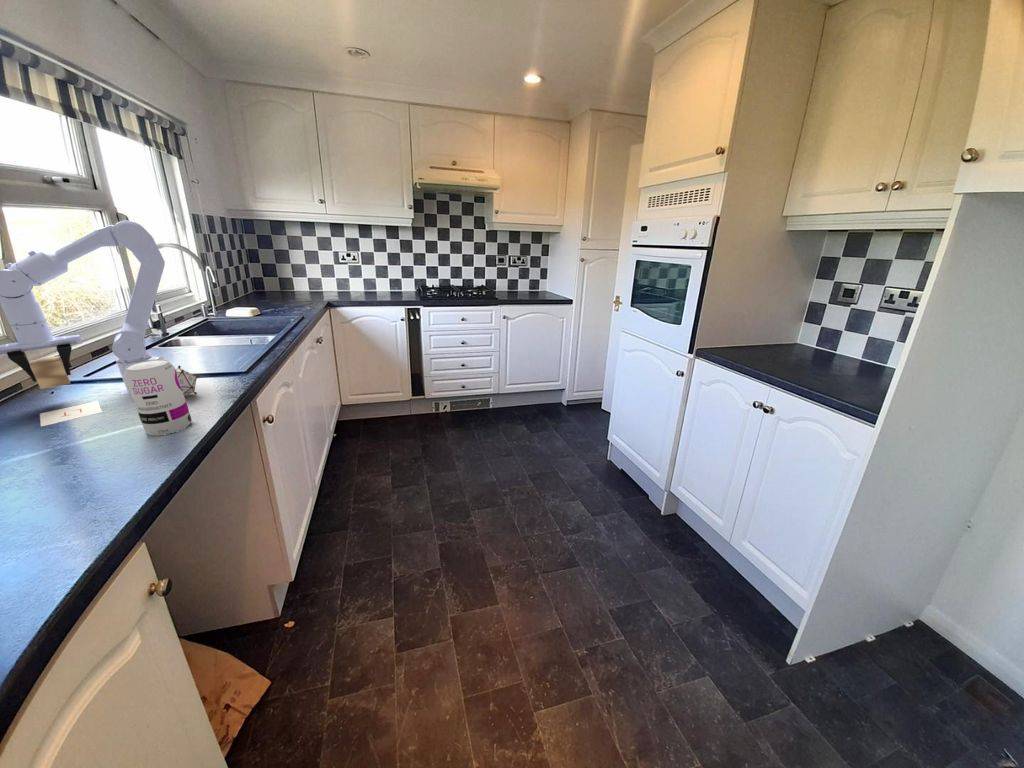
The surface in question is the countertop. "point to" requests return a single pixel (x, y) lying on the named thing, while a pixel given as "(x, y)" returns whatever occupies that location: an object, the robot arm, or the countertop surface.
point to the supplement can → (158, 396)
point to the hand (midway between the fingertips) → (52, 377)
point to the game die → (186, 381)
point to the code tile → (69, 413)
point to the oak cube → (49, 372)
